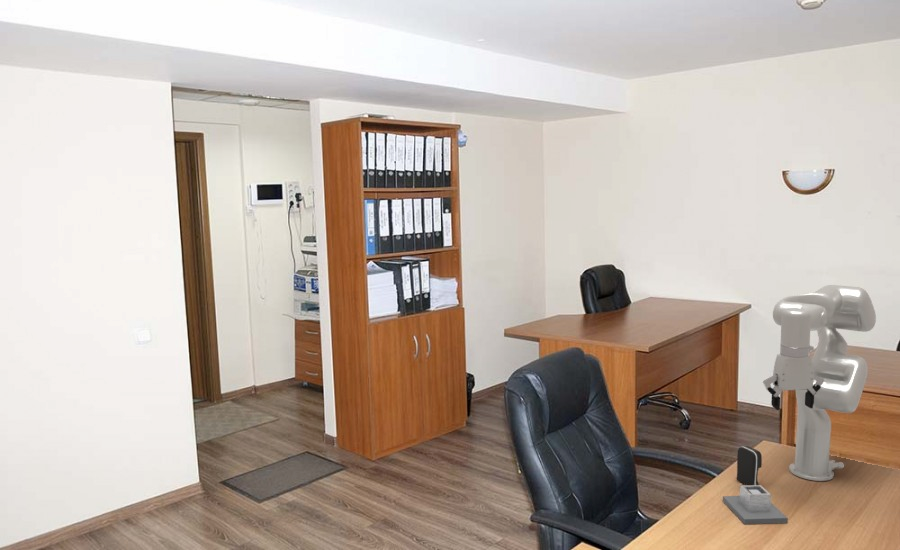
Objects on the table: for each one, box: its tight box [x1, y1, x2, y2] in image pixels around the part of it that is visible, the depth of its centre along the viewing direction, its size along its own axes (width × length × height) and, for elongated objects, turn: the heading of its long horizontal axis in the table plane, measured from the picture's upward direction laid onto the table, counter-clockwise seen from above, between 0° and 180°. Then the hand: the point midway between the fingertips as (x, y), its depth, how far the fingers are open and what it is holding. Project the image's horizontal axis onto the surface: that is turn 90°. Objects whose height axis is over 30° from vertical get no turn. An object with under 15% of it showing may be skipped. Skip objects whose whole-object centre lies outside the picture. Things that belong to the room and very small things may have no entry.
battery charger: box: [736, 445, 763, 485], centre depth 212 cm, size 7×4×11 cm, turn 23°
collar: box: [739, 484, 772, 512], centre depth 194 cm, size 6×6×5 cm
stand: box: [722, 490, 789, 525], centre depth 194 cm, size 12×14×6 cm
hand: (792, 407), depth 200 cm, fingers open, 9 cm apart
